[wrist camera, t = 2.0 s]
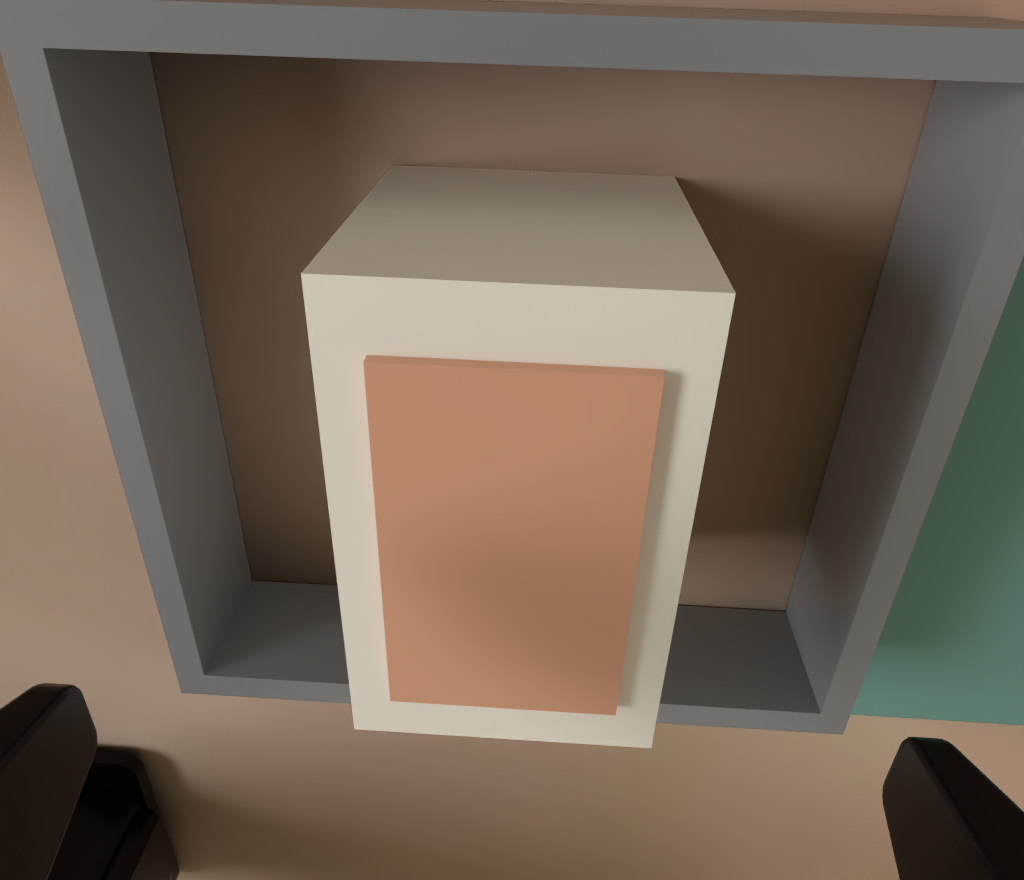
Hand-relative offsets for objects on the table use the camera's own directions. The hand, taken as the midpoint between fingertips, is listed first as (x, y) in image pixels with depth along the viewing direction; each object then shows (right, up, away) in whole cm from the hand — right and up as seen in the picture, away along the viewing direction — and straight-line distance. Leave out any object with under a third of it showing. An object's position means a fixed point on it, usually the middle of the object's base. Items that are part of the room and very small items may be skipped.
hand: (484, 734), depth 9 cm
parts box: (+1, +5, +7) cm, 9 cm away
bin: (+1, +5, +7) cm, 9 cm away
